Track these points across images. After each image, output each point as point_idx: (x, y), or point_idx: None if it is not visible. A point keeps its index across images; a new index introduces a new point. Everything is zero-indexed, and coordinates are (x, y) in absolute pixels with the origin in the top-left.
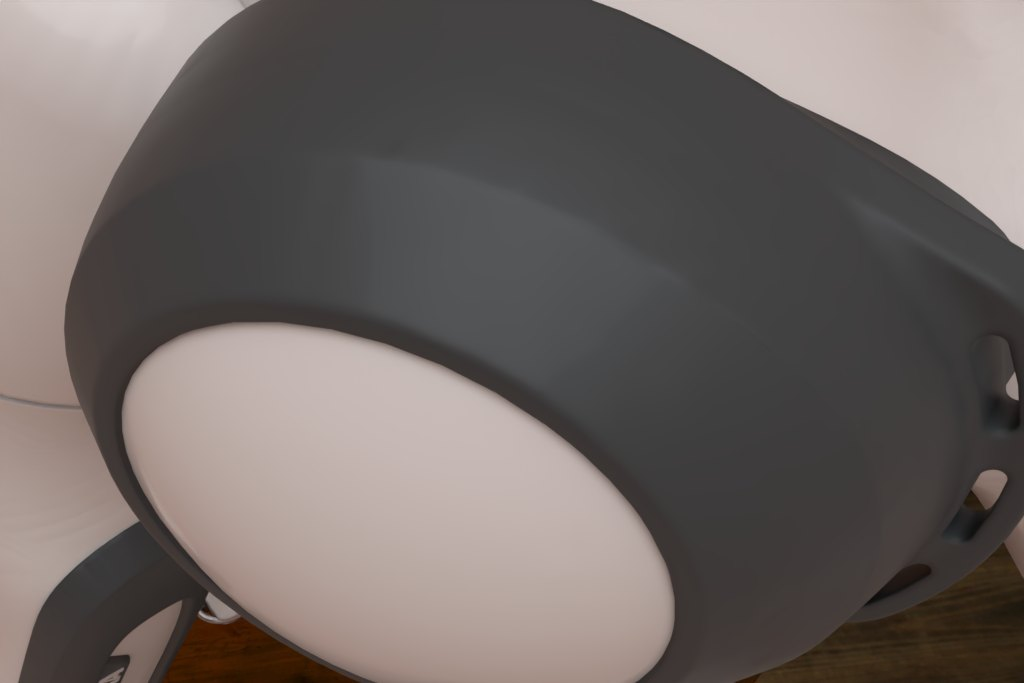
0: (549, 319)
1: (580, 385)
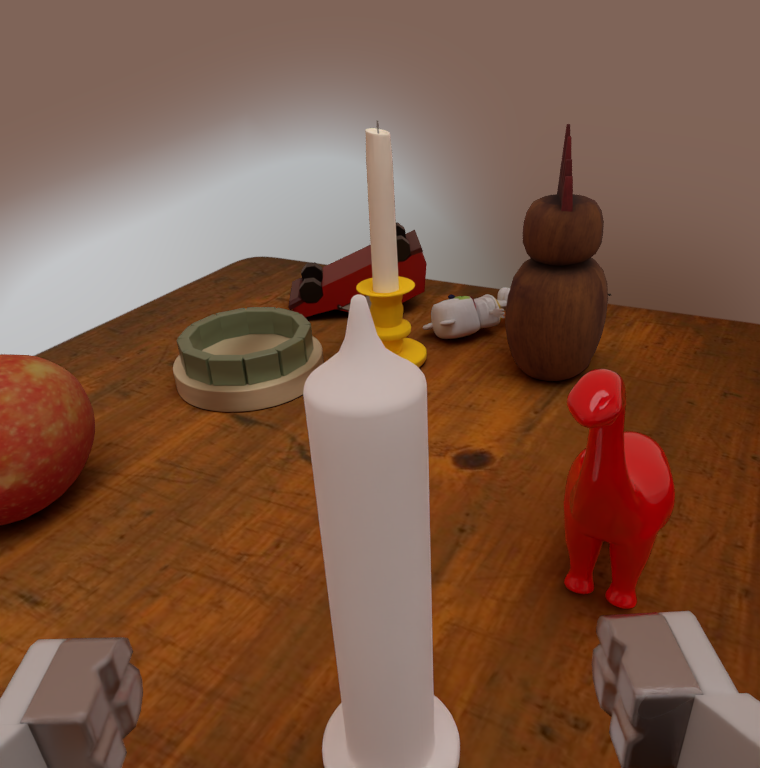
0: None
1: None
